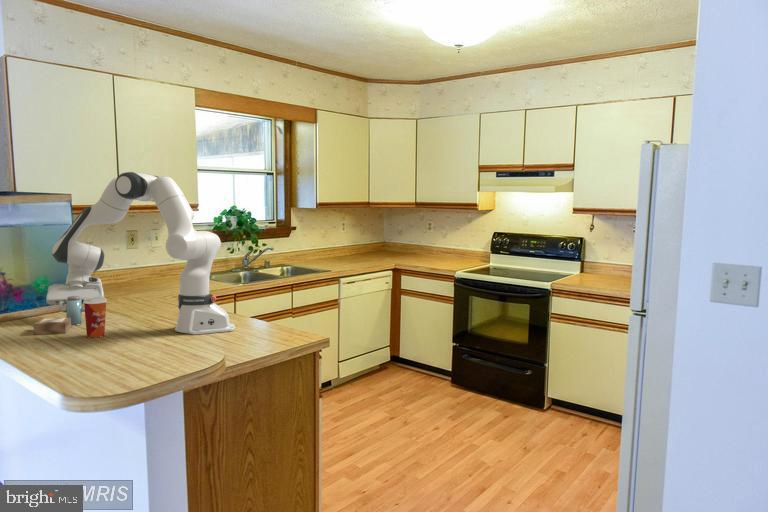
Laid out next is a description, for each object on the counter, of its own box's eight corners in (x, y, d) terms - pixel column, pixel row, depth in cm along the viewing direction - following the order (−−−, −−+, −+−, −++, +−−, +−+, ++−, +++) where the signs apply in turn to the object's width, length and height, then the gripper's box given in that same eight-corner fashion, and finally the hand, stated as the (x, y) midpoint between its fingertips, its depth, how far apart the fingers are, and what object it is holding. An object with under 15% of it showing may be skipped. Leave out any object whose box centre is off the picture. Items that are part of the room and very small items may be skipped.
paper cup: (97, 339, 184) (96, 300, 182) (78, 337, 185) (77, 299, 184) (112, 334, 191) (112, 297, 190) (94, 333, 193) (94, 296, 192)
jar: (82, 322, 209) (82, 295, 208) (80, 325, 204) (79, 297, 203) (68, 323, 207) (67, 295, 206) (65, 326, 202) (64, 297, 201)
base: (71, 327, 200) (70, 317, 200) (65, 333, 191) (65, 322, 190) (41, 328, 196) (40, 318, 196) (33, 334, 187) (33, 323, 187)
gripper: (47, 279, 207) (41, 307, 199) (104, 278, 214) (101, 305, 206) (50, 288, 211) (44, 316, 203) (106, 287, 219) (103, 314, 210)
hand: (73, 311), depth 205 cm, fingers closed on jar, 5 cm apart
